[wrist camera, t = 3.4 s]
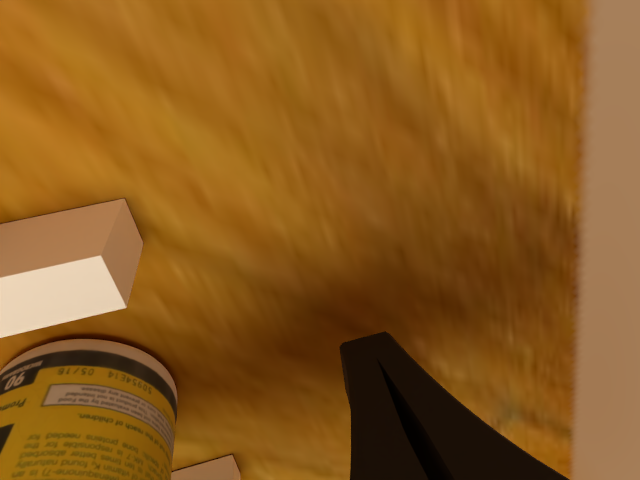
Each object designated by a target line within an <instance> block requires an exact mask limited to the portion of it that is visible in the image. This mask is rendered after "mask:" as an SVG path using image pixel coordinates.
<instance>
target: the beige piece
mask: <svg viewBox="0 0 640 480" xmlns="http://www.w3.org/2000/svg"><path fill="white" fill-rule="evenodd" d="M143 244H144V243H143V241H142V239H141V236H140V234H139V231H138V229H137V227H136V224H135V222H134V220H133V217H132V215H131V212H130V210H129V208H128V205H127V203H126V201H125V198H124V199H119V200H114V201H110V202H105V203H100V204H95V205H90V206H86V207H81V208H76V209H71V210H66V211H61V212H57V213H52V214H47V215H42V216H37V217H32V218H28V219H23V220H18V221H13V222H8V223H3V224H0V338H2V337H6V336H10V335H14V334H19V333H23V332H27V331H31V330H35V329H40V328H44V327H48V326H52V325H56V324H60V323H65V322H69V321H73V320H77V319H81V318H86V317H90V316H94V315H98V314H102V313H107V312H111V311H115V310H119V309H123V308H127V305H128V301H129V297H130V293H131V289H132V286H133V282H134V278H135V274H136V271H137V267H138V263H139V259H140V255H141V252H142V248H143ZM171 480H241V478H240V472H239V469H238V467H237V465H236V462H235V460H234V457H233V455H229V456H226V457H223V458H219V459H216V460H212V461H209V462H205V463H202V464H198V465H195V466H192V467H188V468H185V469H181V470H178V471H174V472H171Z"/></svg>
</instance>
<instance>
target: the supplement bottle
mask: <svg viewBox="0 0 640 480" xmlns="http://www.w3.org/2000/svg"><path fill="white" fill-rule="evenodd" d="M176 418H177V390H176V386H175V383H174V381H173V379H172V377H171V375H170V374H169V372H168V371H167V369H166V368H165V367H164V366H163V365H162V364H161V363H160V362H158V361H157V360H156V359H155V358H153V357H152V356H150V355H149V354H147V353H145V352H143V351H141V350H139V349H137V348H134V347H132V346H129V345H125V344H122V343H117V342H112V341H106V340H97V339H71V340H62V341H56V342H52V343H48V344H45V345H42V346H39V347H36V348H34V349H31V350H29V351H27V352H25V353H23V354H21V355H20V356H18V357H17V358H15V359H14V360H12V361H11V362H10V363H9V364H7V365H6V366H5V367H4V368H3V369H2V370H1V371H0V480H171V472H172V458H173V449H174V439H175V425H176Z"/></svg>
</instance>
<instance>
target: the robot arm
mask: <svg viewBox="0 0 640 480" xmlns="http://www.w3.org/2000/svg"><path fill="white" fill-rule="evenodd" d="M340 354H341V361H342V368H343V375H344V382H345V389H346V393H347V396H348V400H349V404H350V409H351V471H350V480H569V479H568V478H566V477H564V476H563V475H561V474H560V473H558V472H556V471H555V470H553V469H551V468H550V467H548V466H547V465H545V464H543V463H542V462H540V461H539V460H537V459H535V458H534V457H532V456H531V455H530V454H528V453H527V452H525V451H524V450H522V449H521V448H519V447H518V446H516V445H515V444H513V443H512V442H511V441H509V440H508V439H506V438H505V437H504V436H502V435H501V434H500V433H498V432H497V431H495V430H494V429H493V428H491V427H490V426H489V425H487V424H486V423H485V422H484V421H482V420H481V419H480V418H479V417H477V416H476V415H475V414H473V413H472V412H471V411H470V410H469V409H467V408H466V407H465V406H464V405H463V404H461V403H460V402H459V401H458V400H457V399H455V398H454V397H453V396H452V395H451V394H450V393H448V392H447V391H446V390H445V389H444V388H443V387H442V386H441V385H440V384H439V383H437V382H436V381H435V380H434V379H433V378H432V377H431V376H430V375H429V374H428V373H427V372H426V371H425V370H424V369H422V368H421V367H420V366H419V365H418V364H417V363H416V362H415V361H414V360H413V359H412V358H411V357H410V356H409V354H408V353H407V352H406V351H405V350H404V349H403V348H402V347H401V346H400V345H399V344H398V343H397V342H396V341H395V339H394V338H393V337H392V336H391V335H390V334H389V333H387V332H382V333H378V334H374V335H371V336H367V337H363V338H359V339H355V340H352V341H348V342H344V343H342V345H341V346H340Z"/></svg>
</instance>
